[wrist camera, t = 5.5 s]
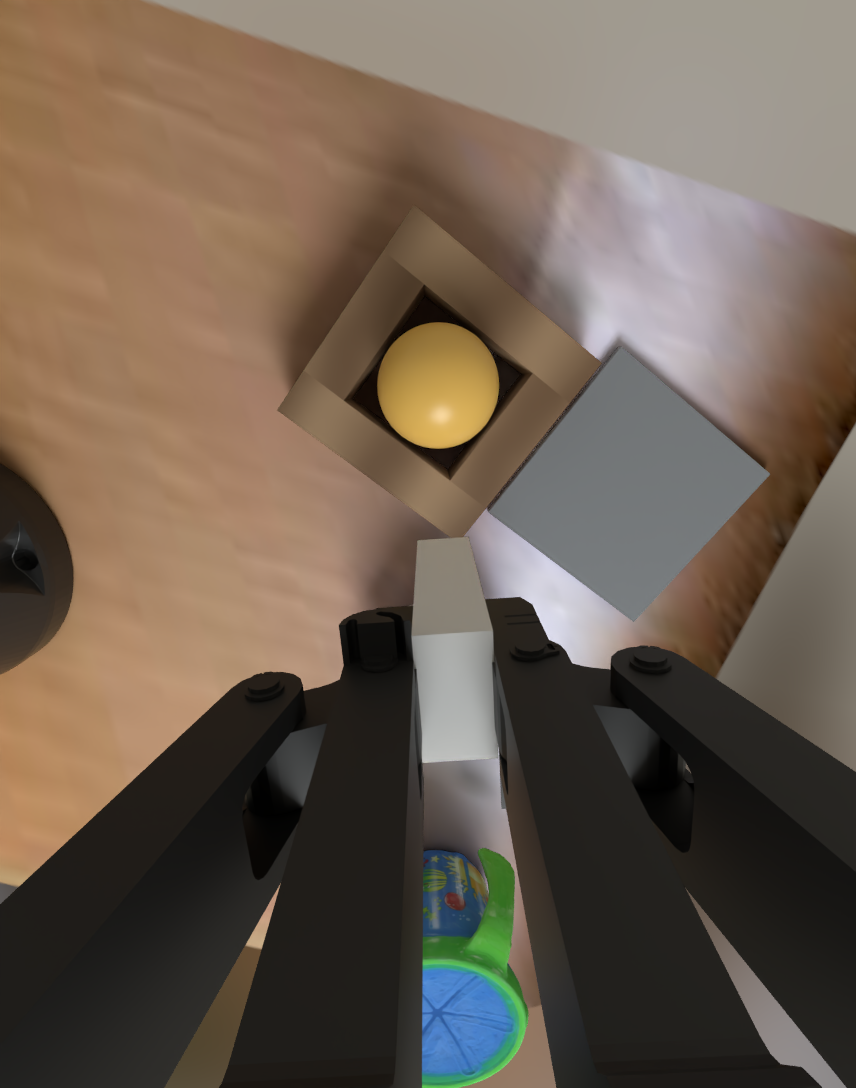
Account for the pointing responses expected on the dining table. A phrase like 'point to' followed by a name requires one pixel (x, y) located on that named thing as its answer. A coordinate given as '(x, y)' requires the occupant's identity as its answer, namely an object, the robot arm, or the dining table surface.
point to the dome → (438, 385)
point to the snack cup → (468, 970)
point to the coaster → (627, 486)
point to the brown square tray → (480, 307)
